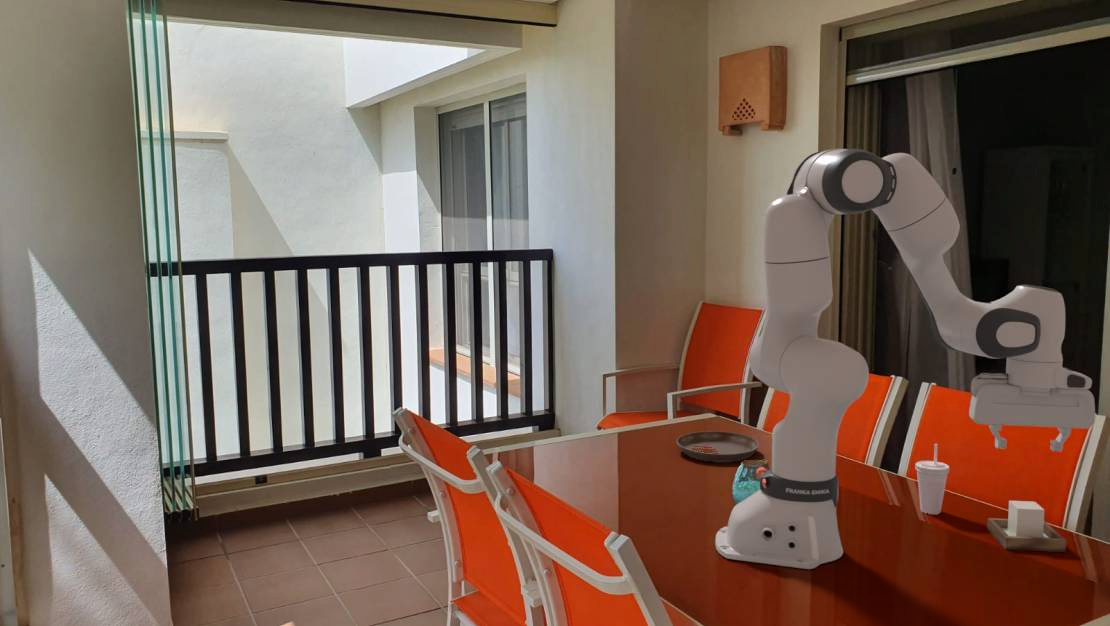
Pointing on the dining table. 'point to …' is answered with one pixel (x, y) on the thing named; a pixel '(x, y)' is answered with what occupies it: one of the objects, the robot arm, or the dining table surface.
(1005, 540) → the rest tray
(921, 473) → the smoothie
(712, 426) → the dining table surface
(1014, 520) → the cream block
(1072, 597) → the dining table surface
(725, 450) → the plant saucer
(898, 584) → the dining table surface
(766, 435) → the dining table surface
